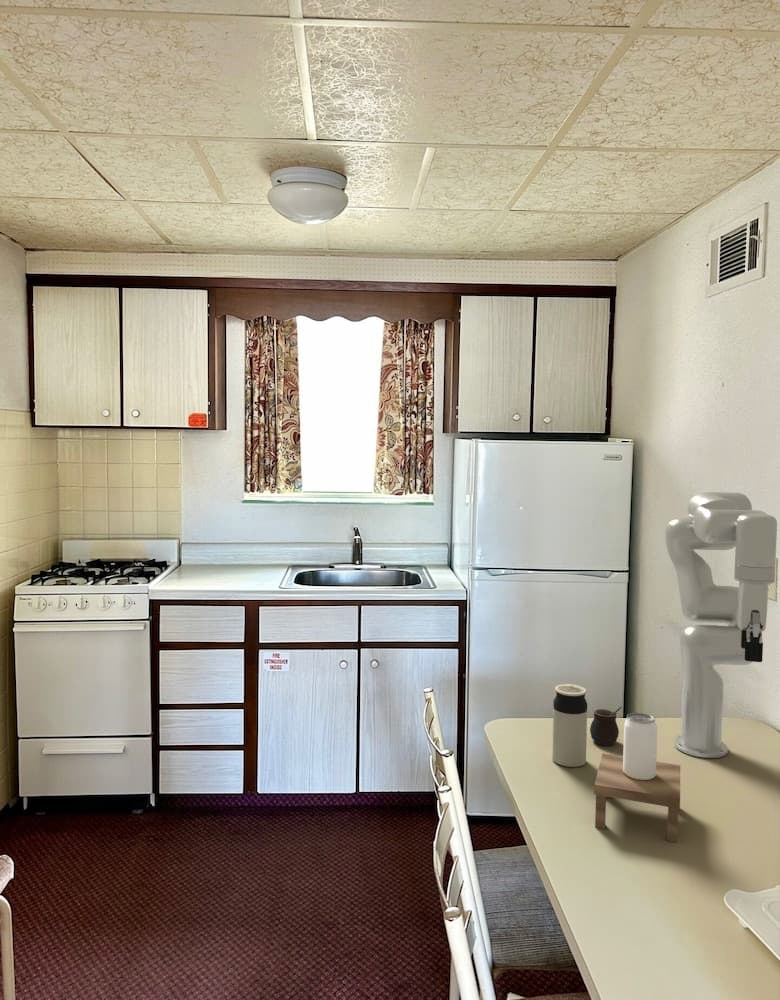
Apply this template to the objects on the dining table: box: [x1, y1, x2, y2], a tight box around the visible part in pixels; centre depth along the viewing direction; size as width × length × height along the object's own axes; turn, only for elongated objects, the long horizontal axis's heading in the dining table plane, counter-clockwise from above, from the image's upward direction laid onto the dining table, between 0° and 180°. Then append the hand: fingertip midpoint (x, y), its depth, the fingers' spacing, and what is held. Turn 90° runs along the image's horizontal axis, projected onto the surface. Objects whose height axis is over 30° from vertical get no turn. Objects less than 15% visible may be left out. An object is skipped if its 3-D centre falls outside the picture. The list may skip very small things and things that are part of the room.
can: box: [622, 712, 658, 781], centre depth 152 cm, size 6×6×12 cm
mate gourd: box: [589, 706, 622, 746], centre depth 191 cm, size 7×8×10 cm
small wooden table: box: [593, 753, 681, 843], centre depth 153 cm, size 16×16×9 cm
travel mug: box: [551, 683, 588, 768], centre depth 179 cm, size 8×8×18 cm
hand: (751, 654), depth 154 cm, fingers open, 9 cm apart
